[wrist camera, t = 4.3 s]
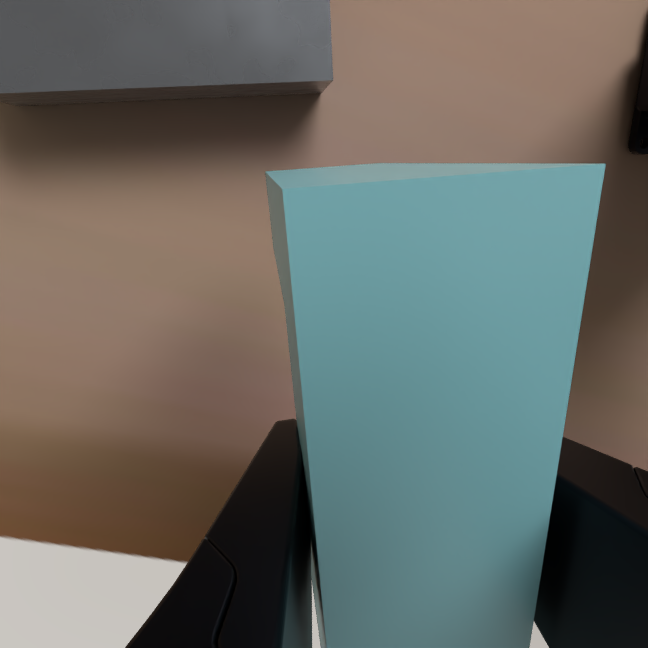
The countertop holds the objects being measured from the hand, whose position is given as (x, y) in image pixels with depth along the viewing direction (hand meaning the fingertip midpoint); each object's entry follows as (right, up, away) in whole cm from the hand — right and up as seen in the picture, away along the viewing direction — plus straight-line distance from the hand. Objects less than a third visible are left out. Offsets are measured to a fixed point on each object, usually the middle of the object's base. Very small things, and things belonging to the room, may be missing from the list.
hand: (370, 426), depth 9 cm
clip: (-1, +2, +4) cm, 4 cm away
